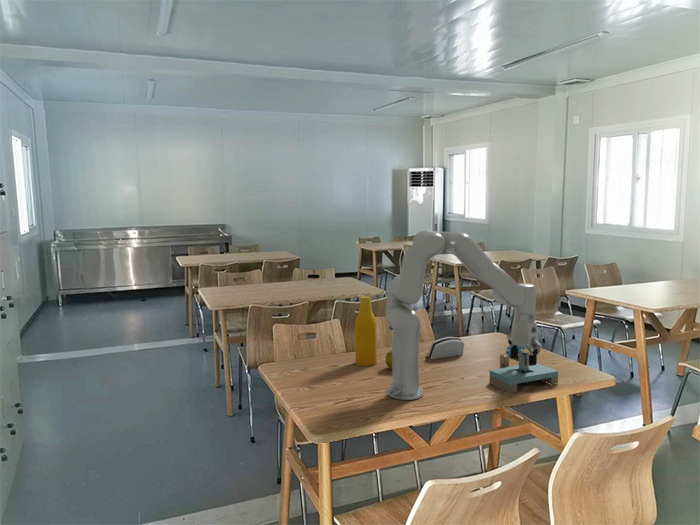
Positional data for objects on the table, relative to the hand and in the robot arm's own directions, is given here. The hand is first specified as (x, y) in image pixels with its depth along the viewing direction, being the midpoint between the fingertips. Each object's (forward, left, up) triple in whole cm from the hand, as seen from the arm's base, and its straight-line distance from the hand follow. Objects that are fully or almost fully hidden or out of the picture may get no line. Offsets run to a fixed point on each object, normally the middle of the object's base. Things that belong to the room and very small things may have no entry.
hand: (523, 361), depth 205 cm
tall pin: (0, 0, -9) cm, 9 cm away
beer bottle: (-17, +63, -9) cm, 66 cm away
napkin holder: (+14, +42, -9) cm, 45 cm away
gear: (+32, +17, -9) cm, 37 cm away
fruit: (-15, +48, -9) cm, 51 cm away
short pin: (+11, +13, -9) cm, 19 cm away
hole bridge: (0, 0, -9) cm, 9 cm away
